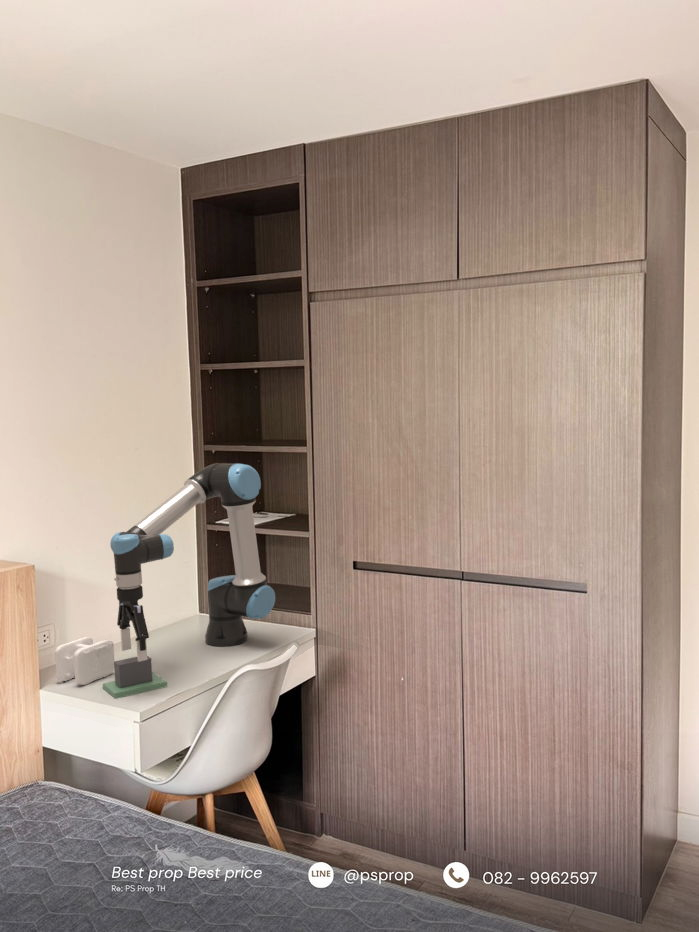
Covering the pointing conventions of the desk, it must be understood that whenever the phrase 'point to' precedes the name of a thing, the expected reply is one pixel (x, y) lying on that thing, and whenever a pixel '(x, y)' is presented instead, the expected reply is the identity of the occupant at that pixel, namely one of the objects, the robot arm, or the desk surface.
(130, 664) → the block
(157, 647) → the desk surface
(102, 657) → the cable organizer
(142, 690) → the board
